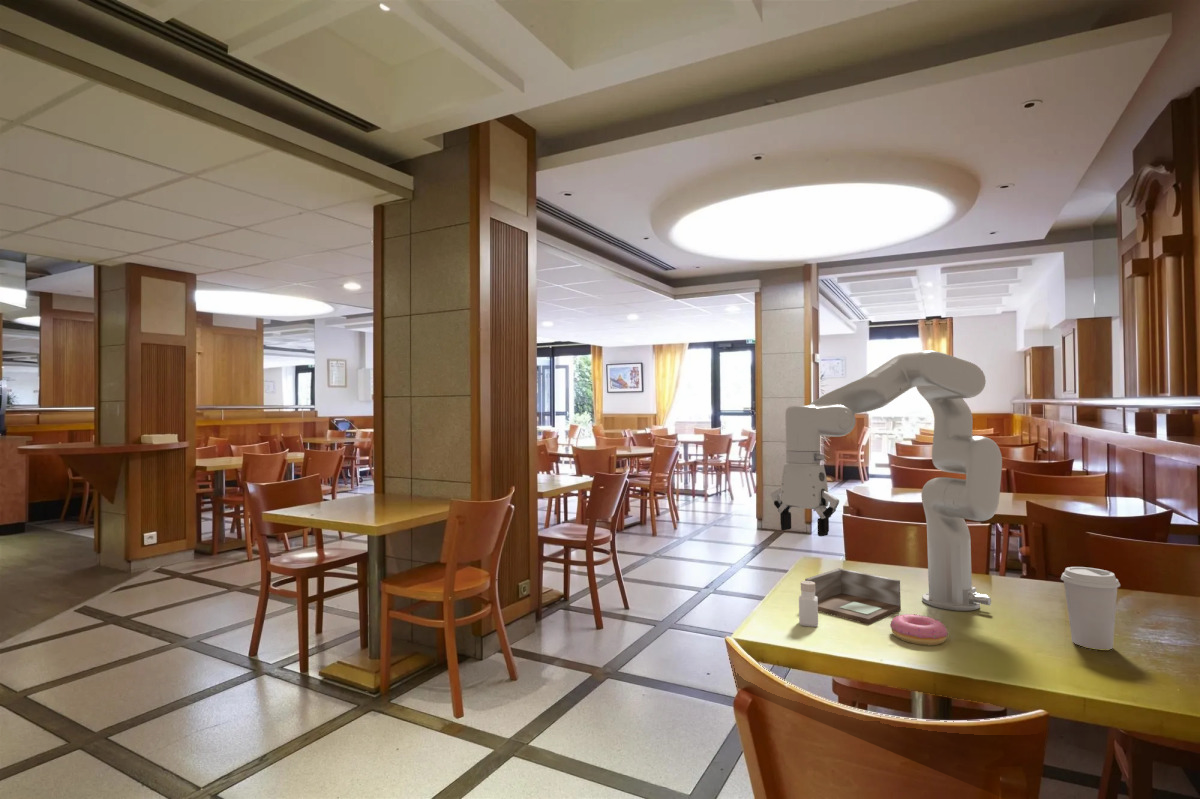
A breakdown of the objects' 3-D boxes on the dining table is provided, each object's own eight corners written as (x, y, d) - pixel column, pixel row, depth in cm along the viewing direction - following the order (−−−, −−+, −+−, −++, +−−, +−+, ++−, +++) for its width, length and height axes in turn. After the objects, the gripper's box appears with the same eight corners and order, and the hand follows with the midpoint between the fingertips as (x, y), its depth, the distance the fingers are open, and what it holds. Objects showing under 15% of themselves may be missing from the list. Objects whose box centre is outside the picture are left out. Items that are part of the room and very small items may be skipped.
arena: (900, 609, 149) (899, 580, 149) (868, 624, 139) (867, 592, 139) (839, 595, 161) (838, 568, 161) (805, 608, 151) (805, 578, 151)
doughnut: (954, 638, 130) (954, 618, 130) (938, 652, 122) (938, 631, 122) (900, 626, 138) (900, 607, 138) (882, 639, 130) (882, 619, 130)
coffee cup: (1127, 657, 118) (1124, 579, 119) (1065, 648, 123) (1063, 573, 124) (1117, 641, 126) (1115, 569, 127) (1060, 633, 131) (1058, 563, 132)
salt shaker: (799, 626, 138) (798, 584, 138) (800, 620, 142) (799, 579, 142) (817, 628, 137) (816, 585, 137) (818, 622, 140) (817, 581, 141)
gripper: (846, 459, 137) (847, 536, 136) (781, 456, 150) (782, 525, 150) (827, 461, 132) (829, 540, 132) (762, 457, 146) (763, 529, 145)
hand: (804, 532), depth 141 cm, fingers open, 9 cm apart
